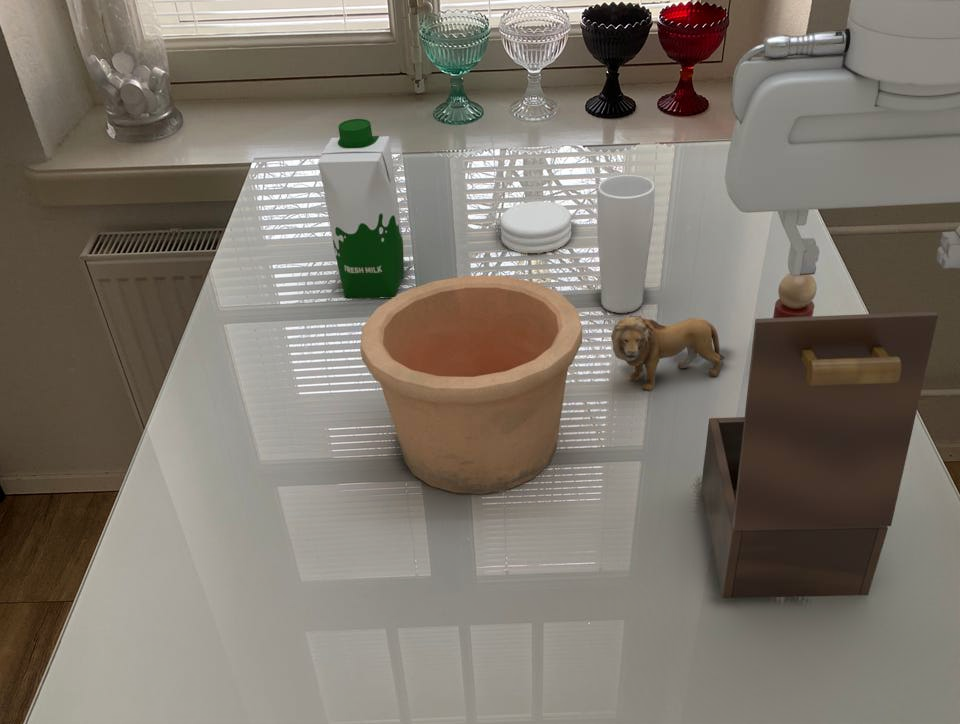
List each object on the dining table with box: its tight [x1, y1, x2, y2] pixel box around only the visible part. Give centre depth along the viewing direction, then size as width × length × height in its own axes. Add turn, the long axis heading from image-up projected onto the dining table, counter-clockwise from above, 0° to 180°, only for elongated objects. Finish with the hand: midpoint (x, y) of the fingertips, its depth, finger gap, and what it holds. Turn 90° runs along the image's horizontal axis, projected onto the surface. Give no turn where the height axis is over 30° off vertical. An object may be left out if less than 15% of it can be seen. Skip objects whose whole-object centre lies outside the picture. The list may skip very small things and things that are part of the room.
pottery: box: [359, 275, 583, 495], centre depth 102 cm, size 22×22×14 cm
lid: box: [733, 310, 939, 530], centre depth 74 cm, size 17×13×5 cm
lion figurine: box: [610, 315, 725, 392], centre depth 111 cm, size 15×5×9 cm, turn 113°
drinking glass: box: [596, 174, 655, 314], centre depth 122 cm, size 7×7×15 cm
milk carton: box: [317, 118, 405, 299], centre depth 128 cm, size 9×9×20 cm
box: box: [700, 416, 889, 599], centre depth 91 cm, size 17×13×9 cm
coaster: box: [500, 200, 572, 254], centre depth 140 cm, size 10×10×4 cm
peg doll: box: [772, 272, 817, 318], centre depth 111 cm, size 4×4×11 cm
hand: (875, 268), depth 64 cm, fingers open, 8 cm apart
